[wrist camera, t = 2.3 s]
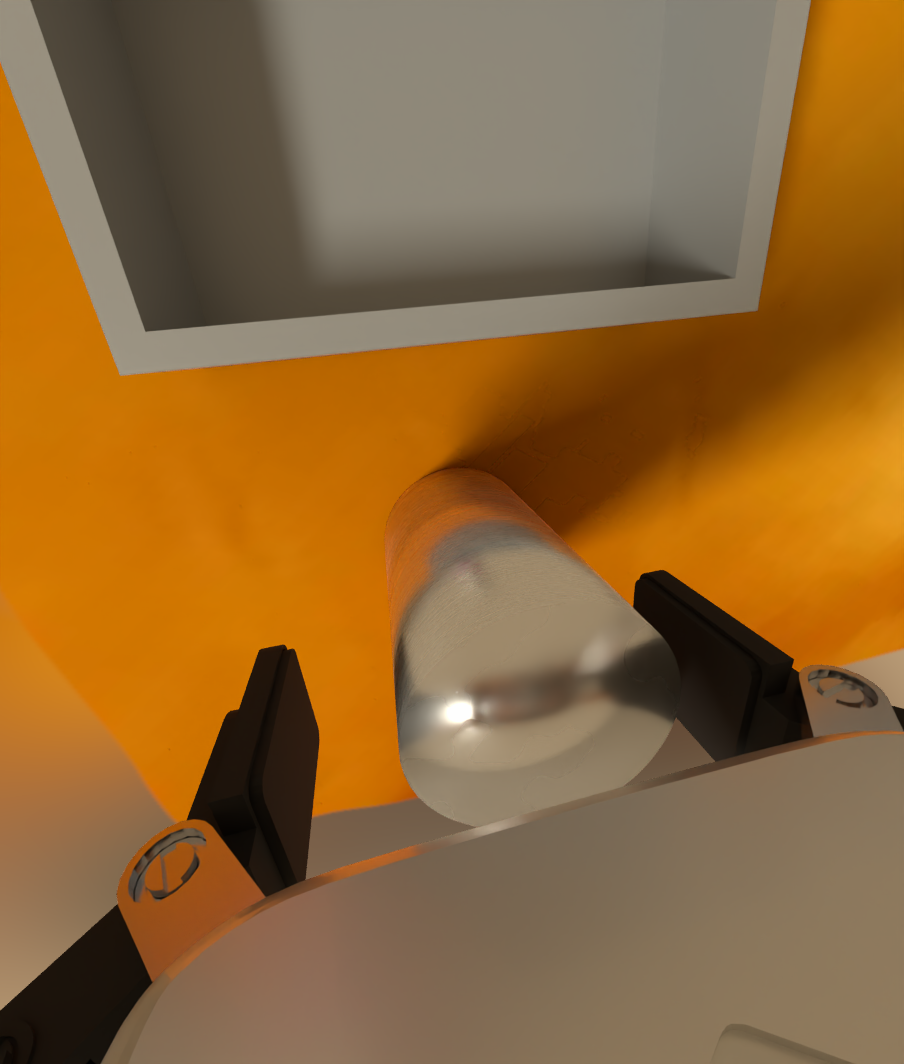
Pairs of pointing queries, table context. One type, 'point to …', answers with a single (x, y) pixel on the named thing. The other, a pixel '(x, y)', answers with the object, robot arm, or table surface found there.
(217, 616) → the table surface
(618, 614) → the tin can
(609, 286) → the tote
